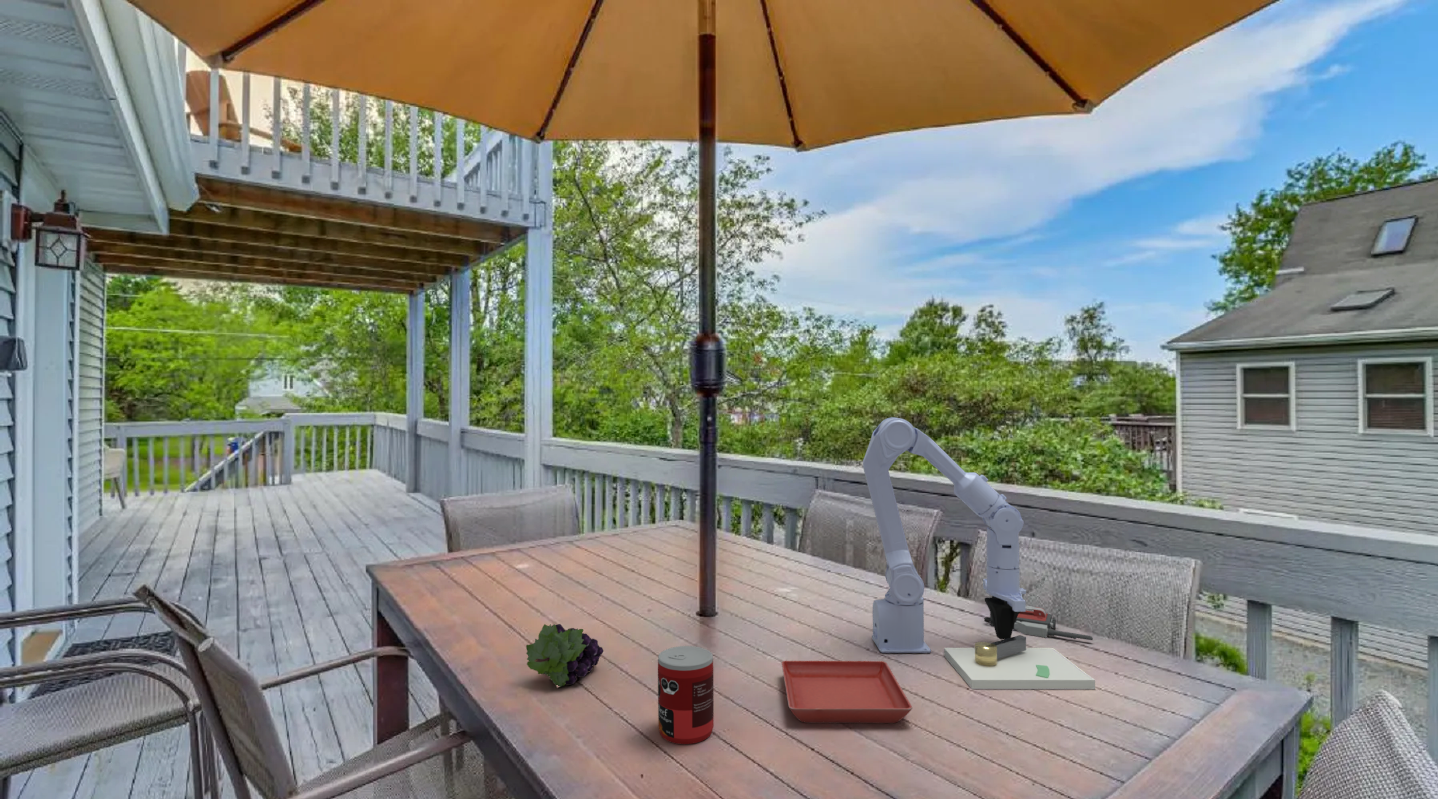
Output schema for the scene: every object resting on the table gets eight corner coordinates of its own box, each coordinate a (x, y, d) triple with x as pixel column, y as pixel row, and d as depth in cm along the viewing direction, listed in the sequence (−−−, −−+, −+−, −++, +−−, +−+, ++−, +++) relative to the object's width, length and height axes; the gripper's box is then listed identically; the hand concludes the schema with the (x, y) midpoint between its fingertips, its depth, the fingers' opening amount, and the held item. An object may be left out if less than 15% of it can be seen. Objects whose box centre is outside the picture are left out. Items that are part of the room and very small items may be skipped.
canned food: (658, 720, 97) (657, 646, 97) (711, 717, 98) (711, 644, 98) (657, 747, 90) (657, 667, 90) (715, 744, 90) (715, 664, 90)
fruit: (606, 687, 116) (553, 700, 102) (561, 667, 120) (505, 677, 107) (622, 629, 117) (572, 634, 104) (577, 611, 122) (523, 614, 109)
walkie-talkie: (982, 629, 136) (1092, 647, 125) (981, 608, 136) (1092, 624, 125) (988, 617, 143) (1093, 633, 133) (988, 597, 143) (1093, 611, 133)
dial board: (971, 689, 107) (971, 678, 107) (944, 655, 121) (944, 646, 121) (1095, 689, 106) (1095, 678, 106) (1053, 655, 120) (1052, 646, 120)
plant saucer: (780, 678, 113) (780, 658, 113) (885, 678, 112) (885, 659, 112) (789, 731, 94) (788, 708, 94) (914, 732, 94) (914, 709, 94)
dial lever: (987, 666, 111) (987, 651, 111) (970, 659, 114) (970, 644, 114) (1032, 653, 117) (1031, 638, 117) (1014, 647, 120) (1014, 632, 120)
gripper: (1042, 576, 116) (1043, 652, 116) (1007, 556, 130) (1008, 624, 130) (1002, 576, 116) (1003, 652, 116) (972, 556, 131) (973, 624, 130)
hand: (1003, 637), depth 123 cm, fingers closed
